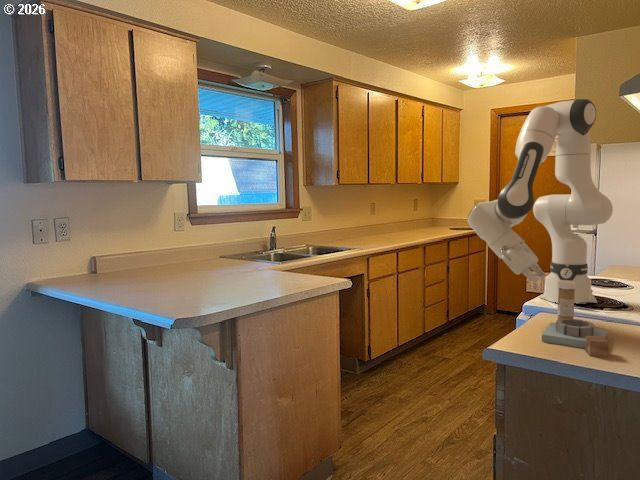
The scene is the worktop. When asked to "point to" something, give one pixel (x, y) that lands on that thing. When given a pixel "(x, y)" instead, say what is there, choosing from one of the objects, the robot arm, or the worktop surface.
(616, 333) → the worktop surface
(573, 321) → the hub board
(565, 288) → the sprinkles bottle
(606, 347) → the walnut block
